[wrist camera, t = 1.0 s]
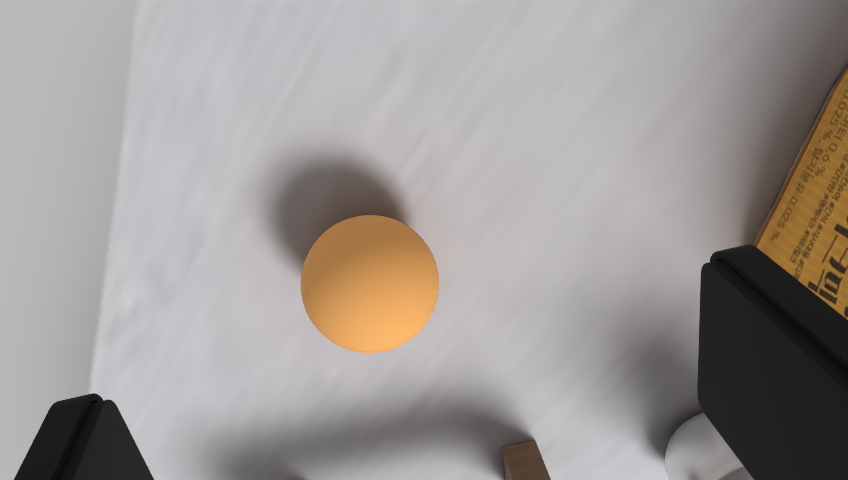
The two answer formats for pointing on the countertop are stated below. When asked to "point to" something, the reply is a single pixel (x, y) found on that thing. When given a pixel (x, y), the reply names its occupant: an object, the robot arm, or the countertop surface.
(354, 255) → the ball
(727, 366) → the robot arm
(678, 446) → the plastic bottle
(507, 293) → the countertop surface
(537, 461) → the bridge
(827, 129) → the pancake mix bag
